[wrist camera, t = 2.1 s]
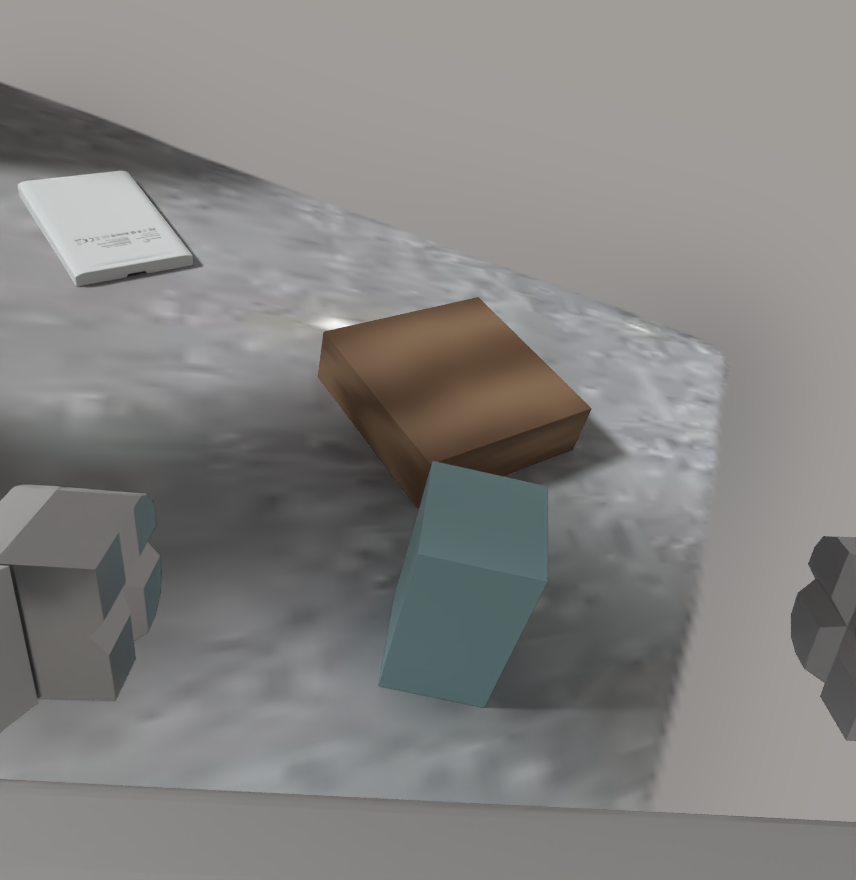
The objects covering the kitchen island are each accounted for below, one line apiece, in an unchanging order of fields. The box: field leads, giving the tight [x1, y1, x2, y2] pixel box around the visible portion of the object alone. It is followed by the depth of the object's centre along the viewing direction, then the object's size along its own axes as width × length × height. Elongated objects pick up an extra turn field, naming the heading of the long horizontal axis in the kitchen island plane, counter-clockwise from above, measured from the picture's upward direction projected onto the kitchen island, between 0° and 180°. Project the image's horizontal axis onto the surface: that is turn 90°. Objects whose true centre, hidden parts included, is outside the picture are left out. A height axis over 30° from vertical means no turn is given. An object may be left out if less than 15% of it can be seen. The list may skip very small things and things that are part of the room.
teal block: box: [378, 461, 548, 708], centre depth 35 cm, size 5×5×10 cm
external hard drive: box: [18, 171, 193, 286], centre depth 58 cm, size 2×8×12 cm
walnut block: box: [318, 297, 592, 508], centre depth 50 cm, size 12×12×4 cm
